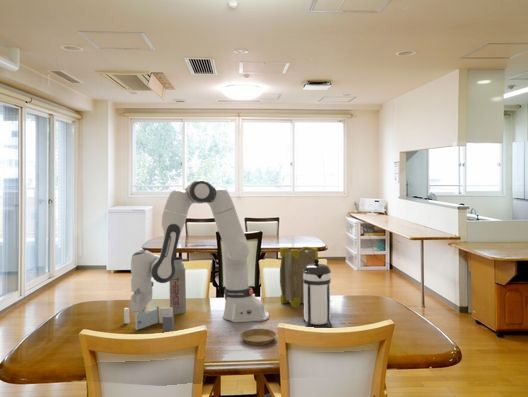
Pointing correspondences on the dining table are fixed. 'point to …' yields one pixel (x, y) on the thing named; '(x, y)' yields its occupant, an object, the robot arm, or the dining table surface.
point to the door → (146, 319)
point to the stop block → (168, 322)
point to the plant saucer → (258, 336)
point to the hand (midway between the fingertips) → (141, 316)
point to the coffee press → (317, 294)
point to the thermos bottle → (178, 288)
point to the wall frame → (160, 313)
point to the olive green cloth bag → (294, 273)
